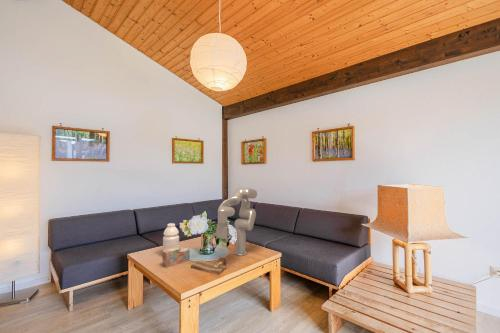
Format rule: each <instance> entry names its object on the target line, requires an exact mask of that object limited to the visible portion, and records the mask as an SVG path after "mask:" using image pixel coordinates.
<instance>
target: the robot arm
mask: <svg viewBox="0 0 500 333" xmlns="http://www.w3.org/2000/svg"><path fill="white" fill-rule="evenodd" d="M257 196H258V191H257V190H256V189H253V188H250V187H249V188H248V187H238V188H237V189H236V190H235V192H234V193H233V194H232V195H231V197H229V198H227V199H225V200H223V202H221V204H220V205H219V206H218V209H217V226H216V230H215V232H214V233H212V235H213V238H214V240H215V245H217V246H218V245H219V242H220V239H222V240H226V247H227V248H228V247H230V241H231V240H232V238H233V235H232V234H230V228H229V223H228V218H229V217H230V218H231V217H232V216H234V215H235V213H236V211H235V208H234V207H232V206H237V205H238V204H240V202H241V206H240V209H239V213H238V216H239V217H240V218H237V219H235V221H234V230H235V229H236V231H237V240H236V242H235V241H234V242H235V247H234V248H235V250H233V255H235V256H238V257H239V256H240V257H241V256H246V255H248V251H247V250H246V249H247V248H248V246H247V244H246V243H247V240H246V239H247V236H246V235H247V234H246V232H247V231H249V232H250V231H252V230H253V228H254V224H255V220H256V216H257V213H256V210H255V209H254V208H250V207H251V201H250V199H252V200H253V199H256V198H257Z"/></svg>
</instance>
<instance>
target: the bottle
mask: <svg viewBox="0 0 500 333" xmlns="http://www.w3.org/2000/svg"><path fill="white" fill-rule="evenodd" d="M179 233H180V231H179V229H178V228H177V227H176V224H175V223H173V222H170V223H167V226H166V228H165V229H164V231H163V234H162V235H164V236H163V237H162V252H163V251H164V250H167V249H171V248H174V247H177V248H180V236H179Z"/></svg>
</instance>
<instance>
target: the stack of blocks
mask: <svg viewBox="0 0 500 333" xmlns="http://www.w3.org/2000/svg"><path fill="white" fill-rule="evenodd" d="M190 252H191V251H190V248H188V247H184V248H180V247H179V248H177V247H174V248H171V249H167V250H164V251H163V250H162V263H161V264H162V265H161V266H162V267H164V268H165V269H167V268H171V267H173V266H176V265H180V264H183V263H186V262H188V261H190V260H189V259H190V255H191V254H190Z"/></svg>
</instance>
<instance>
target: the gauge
mask: <svg viewBox="0 0 500 333" xmlns="http://www.w3.org/2000/svg"><path fill="white" fill-rule="evenodd" d="M215 264H216V265H215V266H214V268H218V267H219V266H221V265H223V266H227V258H225V257H219V258H218V259H217V263H215Z"/></svg>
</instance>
